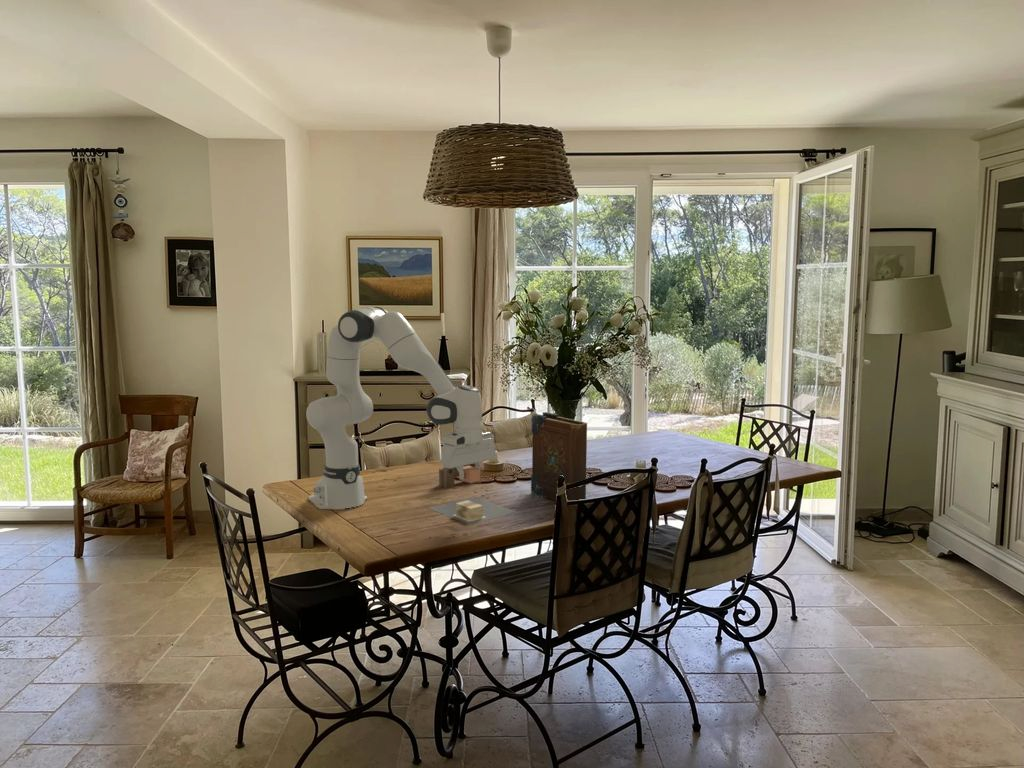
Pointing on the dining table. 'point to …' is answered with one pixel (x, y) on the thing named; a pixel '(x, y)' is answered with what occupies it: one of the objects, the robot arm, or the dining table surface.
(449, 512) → the build board
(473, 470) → the brick top
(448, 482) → the wooden toy
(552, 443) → the decorative book
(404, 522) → the dining table surface
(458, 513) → the brick base
